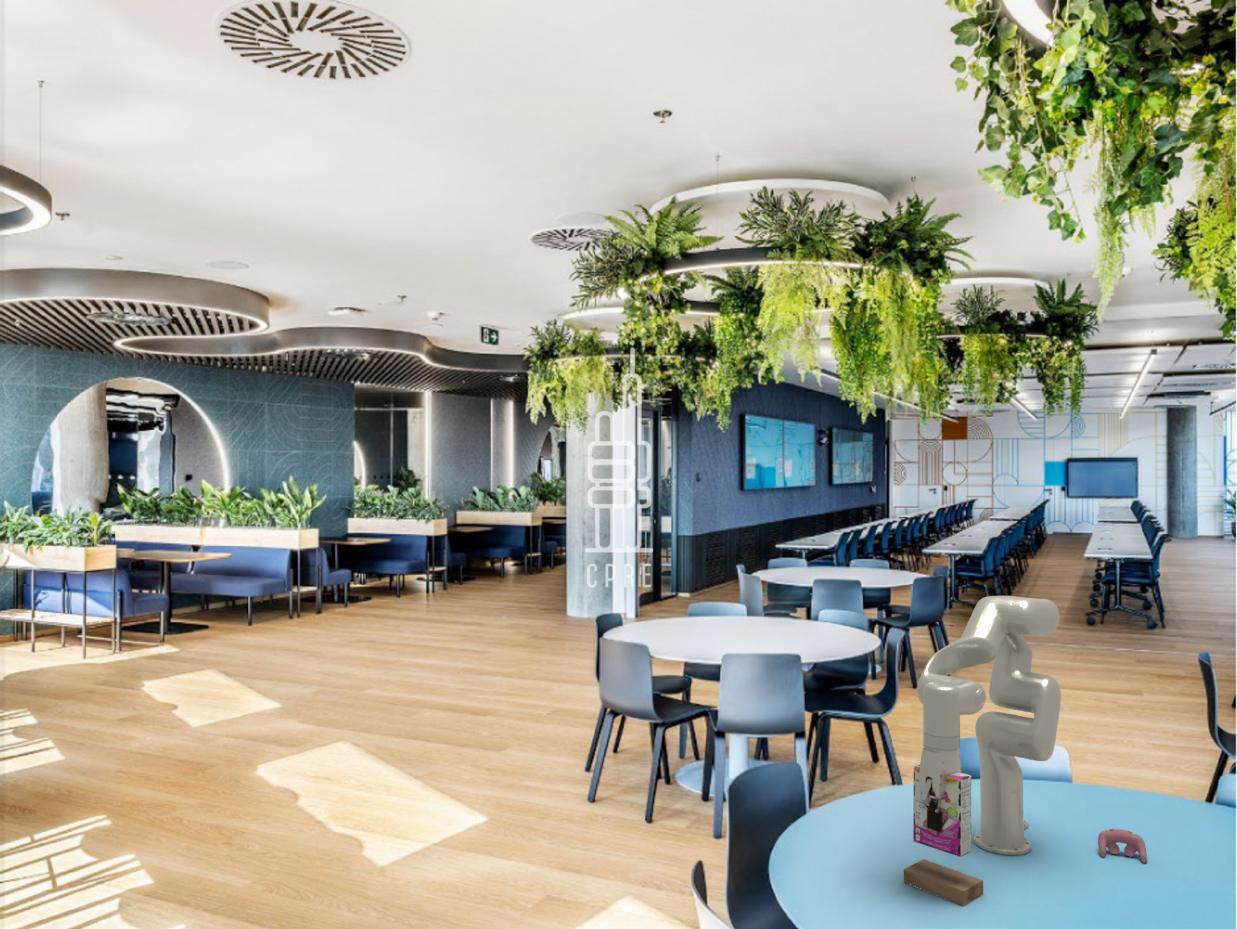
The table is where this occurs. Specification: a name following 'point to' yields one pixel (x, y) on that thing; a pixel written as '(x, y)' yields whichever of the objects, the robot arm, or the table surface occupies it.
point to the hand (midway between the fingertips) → (941, 825)
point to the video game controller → (1121, 836)
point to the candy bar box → (946, 816)
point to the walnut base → (944, 882)
